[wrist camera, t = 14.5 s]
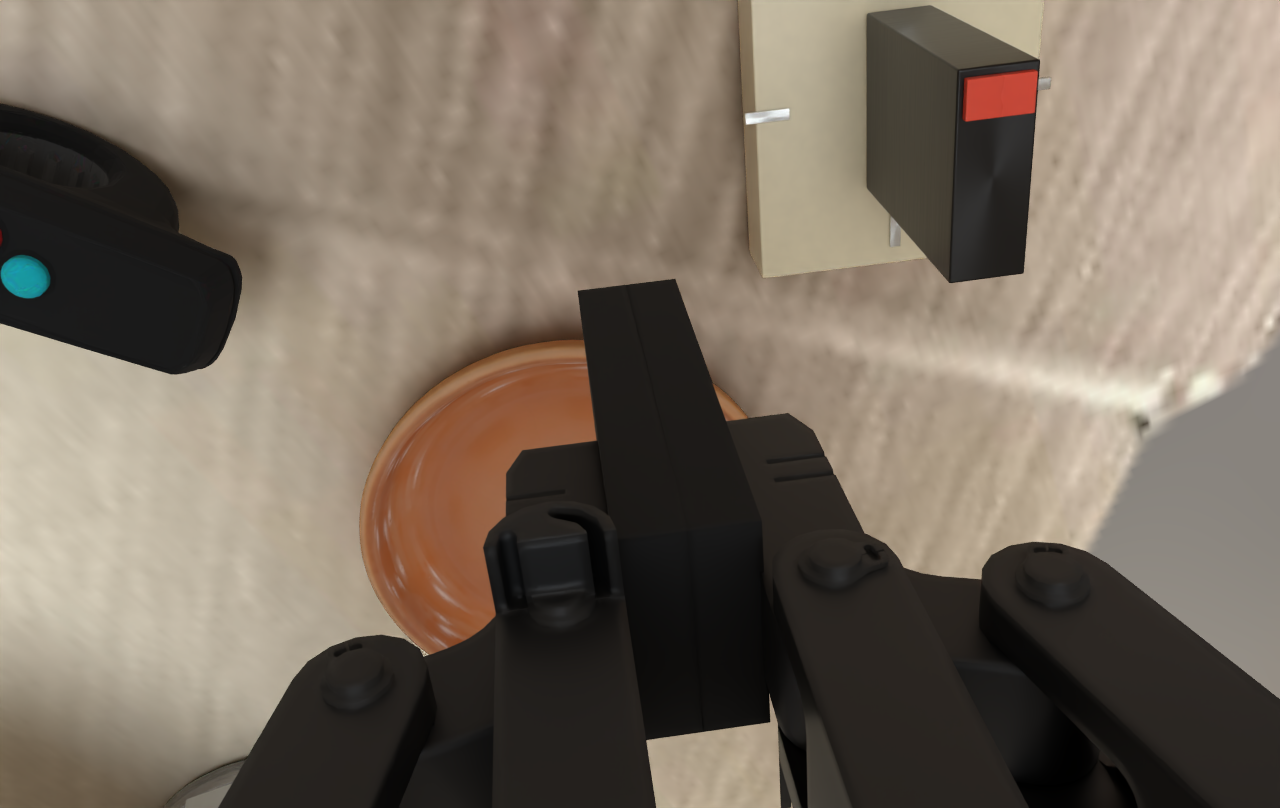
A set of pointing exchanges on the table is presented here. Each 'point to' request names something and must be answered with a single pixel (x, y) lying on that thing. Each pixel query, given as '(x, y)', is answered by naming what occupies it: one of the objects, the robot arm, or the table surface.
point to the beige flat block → (830, 127)
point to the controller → (104, 252)
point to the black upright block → (951, 139)
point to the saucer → (466, 482)
